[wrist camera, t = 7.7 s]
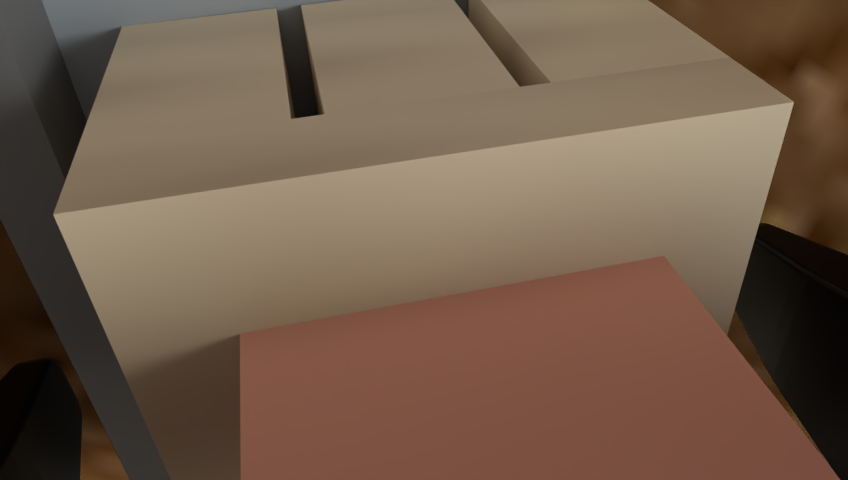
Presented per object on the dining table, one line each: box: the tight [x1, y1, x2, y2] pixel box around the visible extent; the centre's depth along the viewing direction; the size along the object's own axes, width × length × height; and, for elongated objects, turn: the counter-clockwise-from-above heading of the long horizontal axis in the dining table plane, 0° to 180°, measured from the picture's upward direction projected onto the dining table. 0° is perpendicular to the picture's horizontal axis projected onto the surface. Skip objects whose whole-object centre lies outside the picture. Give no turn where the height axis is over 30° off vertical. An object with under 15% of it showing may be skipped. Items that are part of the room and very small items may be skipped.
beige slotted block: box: [53, 0, 794, 480], centre depth 9 cm, size 7×6×4 cm
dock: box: [0, 0, 469, 480], centre depth 11 cm, size 11×8×4 cm
